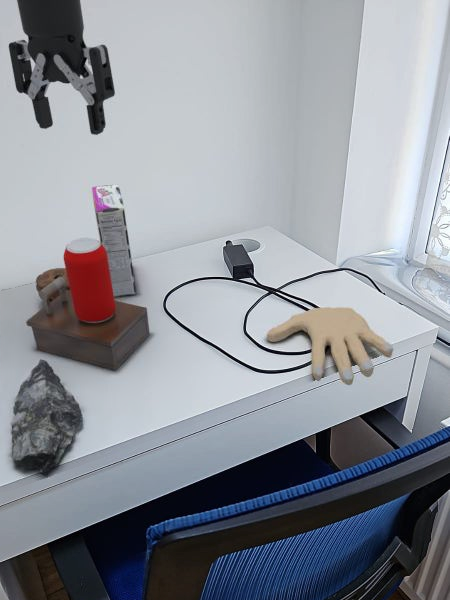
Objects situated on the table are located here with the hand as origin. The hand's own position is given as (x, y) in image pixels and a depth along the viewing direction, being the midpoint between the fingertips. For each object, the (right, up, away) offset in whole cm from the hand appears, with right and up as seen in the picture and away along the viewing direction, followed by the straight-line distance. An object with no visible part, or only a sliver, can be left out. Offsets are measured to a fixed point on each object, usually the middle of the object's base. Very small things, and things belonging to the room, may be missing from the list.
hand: (71, 130), depth 81 cm
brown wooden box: (0, -28, +13) cm, 31 cm away
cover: (0, -25, +11) cm, 27 cm away
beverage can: (+1, -25, +10) cm, 27 cm away
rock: (-1, -43, 0) cm, 43 cm away
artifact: (-8, -20, +23) cm, 32 cm away
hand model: (+38, -23, +18) cm, 48 cm away
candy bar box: (+2, -16, +28) cm, 32 cm away
